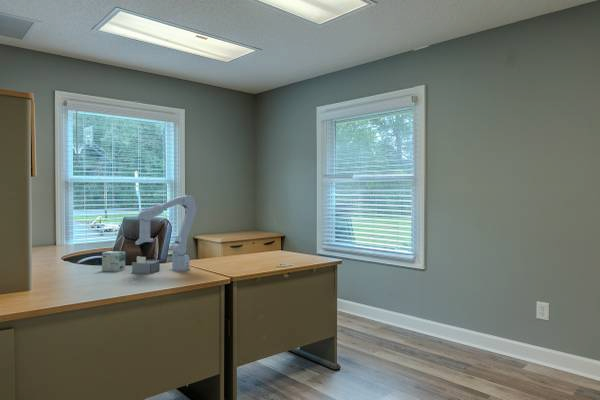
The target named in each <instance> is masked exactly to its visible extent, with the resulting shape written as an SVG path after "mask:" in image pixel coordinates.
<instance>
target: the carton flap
mask: <svg viewBox="0 0 600 400" xmlns="http://www.w3.org/2000/svg"><path fill="white" fill-rule="evenodd" d="M146 261H147V256H136V262H137V263H136V262H132V263H131V273H134V274H149V275H150V274H151V273H150V263H146Z"/></svg>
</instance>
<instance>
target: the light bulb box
mask: <svg viewBox="0 0 600 400" xmlns="http://www.w3.org/2000/svg"><path fill="white" fill-rule="evenodd" d="M123 270H126V251H117V250H107V251H102V253H101V272H109V271H111V272H112V271H114V272H121V271H123Z"/></svg>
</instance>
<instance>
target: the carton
mask: <svg viewBox="0 0 600 400" xmlns="http://www.w3.org/2000/svg"><path fill="white" fill-rule="evenodd" d="M135 263H137V261H136V262H135ZM146 263H150V274H153V273H156V272H159V271H160V268H161V267H160V263H161V262H160V261H154V260H152V261H151V260H146Z"/></svg>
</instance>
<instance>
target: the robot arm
mask: <svg viewBox="0 0 600 400" xmlns="http://www.w3.org/2000/svg"><path fill="white" fill-rule="evenodd" d="M176 205H181V206H182V207H183V209H184V211H186V213H185V215H184V218H183V221H182V225H181V227H180V230H179V233H178V235H177V237H176V238H175V239H174V242H173V243H172V244H171V246H170V249H171V252H172V255H171V257H172V258H171V261H172V262H171V268H169V270H170V271H182V272H183V271H187V270H188V269H189V270H190V269H191V267H190V265H191V264H190V255H188V254H186V252H187V251H188V250H187V245H188V240H187V239H188V236H189V233H190V231H191V228H192V225H193V222H194V219H195V217H196V213H197V206H196V200H195V197H194V196H193V195H189V194H188V195H187V194H182V195H179V196H176V197H174V198H172V199H170V200H168V201H166V202H164V203H162V204H160V203H154V204H153V205H152V206H151V207H147V208H145V209H143V210H140V211H139V213H138V215H137V218H138V219H139V229H138V230H139V235H138V236H139V238H138V239H137V240H136V241H135V246H136V245H137V246H138V247H139V249H140V252H141V257H147V256H148V253H149V250H150V247H151V246H152V243H153V242H154V238H153V237H152V238H151V220H152V219H153V218H155V217H157V216H159V215H162V214H163V213H164V211H165V210H167V209H169V208H172V207H174V206H176Z"/></svg>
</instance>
